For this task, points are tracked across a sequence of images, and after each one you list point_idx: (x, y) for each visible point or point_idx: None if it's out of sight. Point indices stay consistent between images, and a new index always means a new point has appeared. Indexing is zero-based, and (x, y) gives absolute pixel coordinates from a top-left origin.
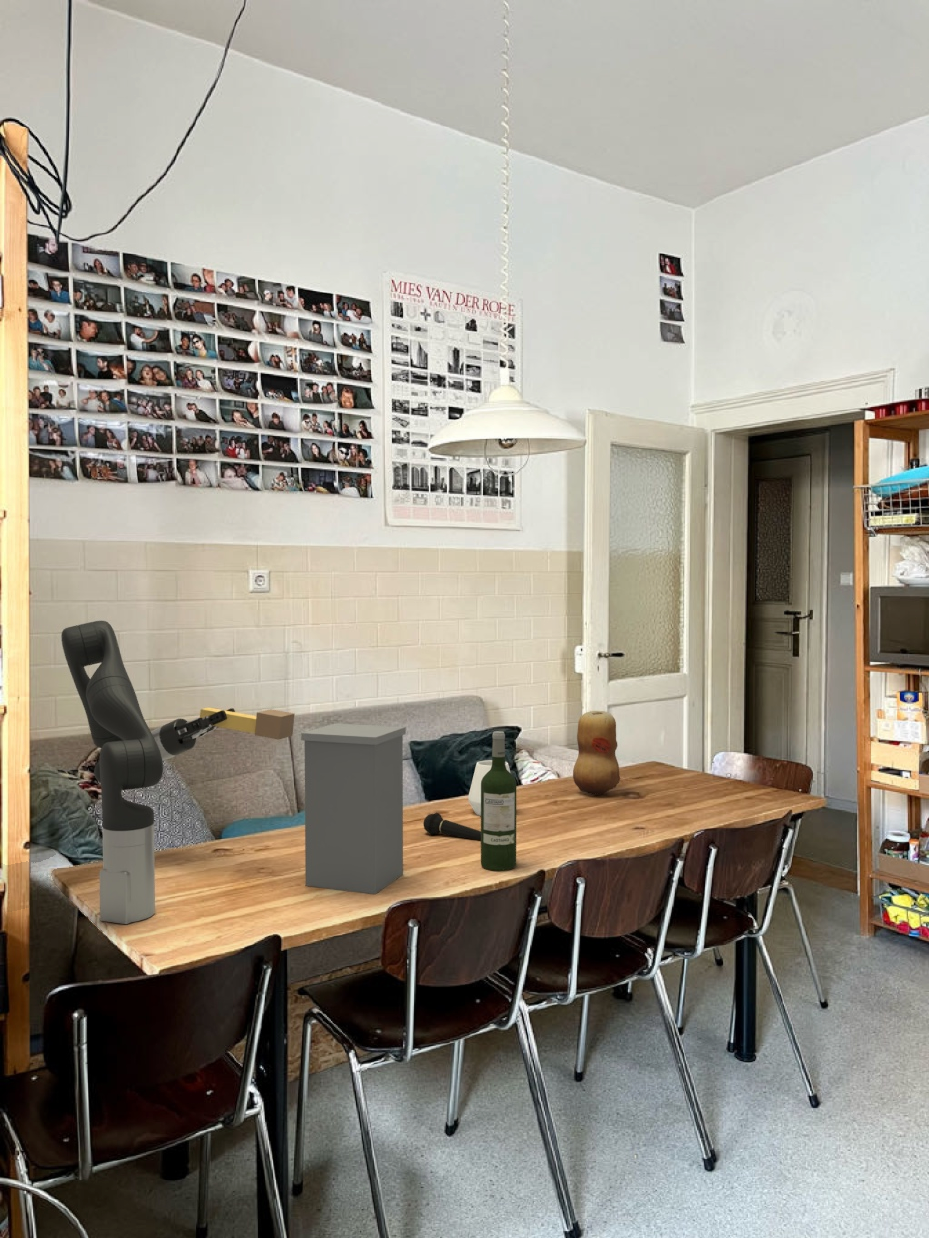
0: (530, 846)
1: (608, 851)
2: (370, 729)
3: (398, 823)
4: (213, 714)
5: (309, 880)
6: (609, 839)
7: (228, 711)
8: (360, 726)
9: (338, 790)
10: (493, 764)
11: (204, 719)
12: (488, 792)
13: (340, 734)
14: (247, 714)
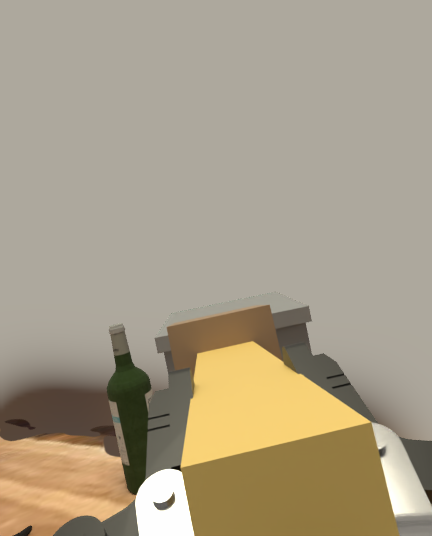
0: (58, 494)
1: (80, 448)
2: (211, 310)
3: None
4: (334, 394)
5: None
6: (33, 462)
7: (207, 387)
8: (183, 320)
9: None
10: (129, 361)
11: (424, 442)
12: (149, 390)
13: (280, 299)
14: (196, 367)
